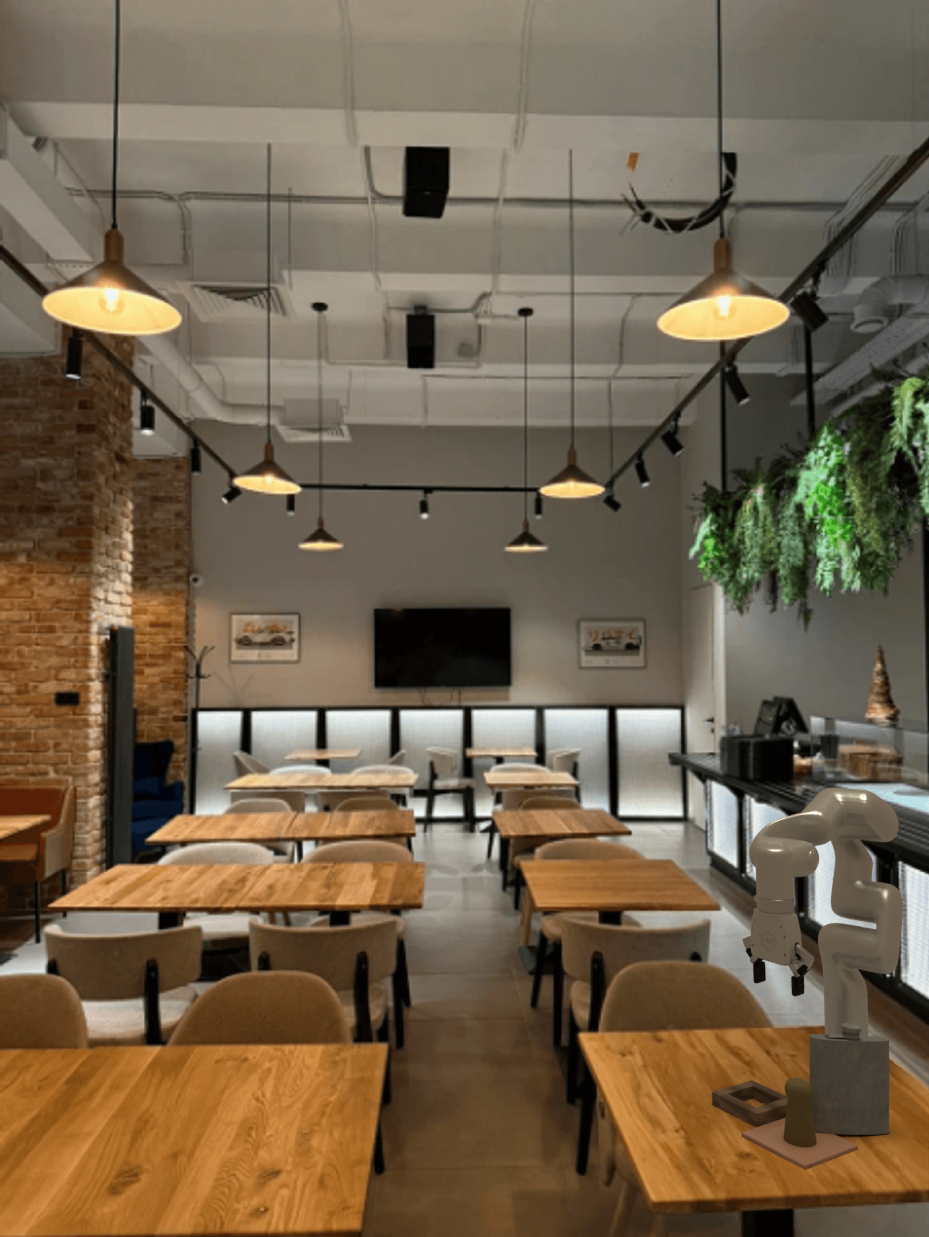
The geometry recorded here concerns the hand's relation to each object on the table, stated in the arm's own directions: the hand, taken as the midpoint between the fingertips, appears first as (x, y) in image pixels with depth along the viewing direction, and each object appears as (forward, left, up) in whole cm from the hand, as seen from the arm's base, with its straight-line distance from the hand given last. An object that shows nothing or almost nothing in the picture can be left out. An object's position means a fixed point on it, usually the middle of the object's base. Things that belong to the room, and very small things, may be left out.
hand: (778, 988), depth 195 cm
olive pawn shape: (+8, +11, -24) cm, 28 cm away
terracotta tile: (+8, +11, -25) cm, 28 cm away
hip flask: (-4, +13, -25) cm, 28 cm away
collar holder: (+4, -4, -25) cm, 25 cm away
